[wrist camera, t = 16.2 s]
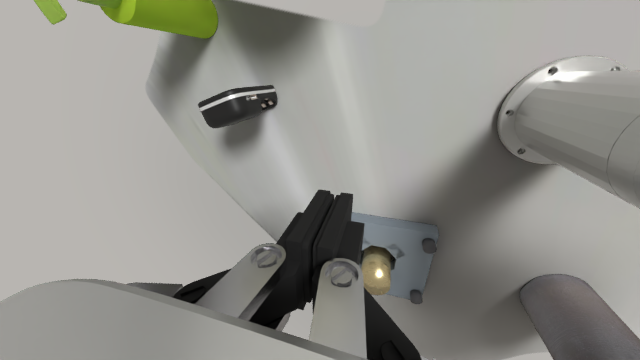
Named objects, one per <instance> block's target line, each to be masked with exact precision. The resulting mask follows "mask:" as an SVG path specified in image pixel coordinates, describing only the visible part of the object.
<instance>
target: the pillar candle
mask: <svg viewBox="0 0 640 360" xmlns="http://www.w3.org/2000/svg"><path fill="white" fill-rule="evenodd" d="M520 300H521V303H522V305H523V307H524V308H525V310H526V312H527V314H528V316H529V317H530V319H531V321H532V323H533V324H534V326H535V328H536V330H537V332H538V333H539V335H540V337H541V338H542V340H543V342H544V344H545V345H546V347H547V349H548V351H549V353H550V354H551V356H552V357H553V359H554V360H640V339H639V338H638V337H637V336H636V335H635V334H634V333H633V332H632V331H631V330H630V328H629V327H628V326H627V325H626V324H625V323H624V322H623V321H622V320H621V319H620V318H619V317H618V316H617V314H616V313H615V312H614V311H613V310H612V309H611V308H610V307H609V306H608V305H607V304H606V303H605V301H604V300H603V299H602V298H601V297H600V296H599V295H598V294H597V293H596V292H595V291H594V290H593V289H592V288H591V287H590V286H589V285H588V284H587V283H586V282H585V281H583V280H581V279H579V278H576V277H573V276H569V275H562V274H552V275H544V276H539V277H536V278H534V279H533V280H531V281H530V282H529V283H528V284H526V285H525V286H524V287H523V288H522V289H521V291H520Z"/></svg>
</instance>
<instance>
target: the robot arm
mask: <svg viewBox="0 0 640 360" xmlns="http://www.w3.org/2000/svg"><path fill="white" fill-rule="evenodd" d="M549 69H550V72H549V73H548V70H549ZM508 110H509V112H508V113H507V114H506V111H508ZM497 126H498V134H499V137H500V140H501V142H502V143H503V145H504V146H505V147H506V148H507V149H508V150H509V151H510V152H511V153H512V154H514V155H515V156H517V157H519V158H521V159H523V160H525V161H528V162H532V163H537V164H559V165H561V166H562V167H564V168H566V169H568V170H570V171H571V172H573V173H575V174H577V175H579V176H581V177H582V178H584V179H586V180H588V181H590V182H591V183H593V184H595V185H597V186H599V187H600V188H602V189H604V190H606V191H608V192H610V193H611V194H613V195H615V196H617V197H619V198H620V199H622V200H624V201H626V202H628V203H630V204H632V205H634V206H636V207H638V208H639V209H640V70H636V71H630V70H629V69H628V68H627V67H626V66H625V65H623V64H621V63H619V62H618V61H616V60H613V59H610V58H606V57H603V56H590V55H588V56H576V57H570V58H564V59H561V60H558V61H555V62H552V63H549V64H547V65H545V66H543V67H541V68H539V69H537V70H535V71H534V72H532V73H531V74H529V75H528V76H526V77H525V78H524V79H523V80H522V81H521V82H519V83H518V84H517V85H516V86H515V87H514V88H513V90H512V91H511V92H510V93H509V94H508V96H507V98H506V99H505V101H504V103H503V104H502V107H501V109H500V112H499V116H498V122H497ZM518 149H520V150H519V151H518ZM352 203H353V194H348V193H341V194H340V195H336V197H335V199H334V194H331V193H330V191H326V190H318V191H317V193H316V194H315V196H314V197H313V199H312V201H311V202H310V204H309V205H308V207H307V208H306V210H305V211H304V213H301V212H299V213H297V214H296V216H295V217H294V219H293V220H292V222H291V223H290V224H289V226H288V227H287V229H286V230H285V232H284V233H283V235H282V236H281V237H280V239H279V240H278V242H277V243H276V244H273V243H266V244H262V245H259V246H257V247H255V248H254V249H252V250H251V251H250V252H249V253H248V254H247V255H246V256H245V257H244V258H243V259H242V260H241V261H240V262H238V263H237V264H236V265H235V266H234V267H233V268H232V269H229V270H226V271H223V272H220V273H217V274H215V275H212V276H209V277H206V278H203V279H200V280H198V281H195V282H192V283H190V284H188V285H186V286H184V287H183V286H182V284H163V283H129V284H122V283H117V282H112V281H105V280H97V279H71V280H61V281H54V282H49V283H44V284H40V285H36V286H33V287H30V288H27V289H25V290H23V291H20V292H18V293H16V294H14V295H12V296H10V297H8V298H7V299H5V300H3V301H1V302H0V360H429V359H427V358H425V357H423V356H421V355H420V354H419V352H418V351H417V349H416V348H415V346H414V345H413V344H412V343H411V341H410V340H409V339H408V338H407V337H406V336H405V334H404V333H403V332H402V331H401V330H400V329H399V327H398V326H397V325H396V324H395V323H394V321H393V320H392V319H391V318H390V317H389V316H388V314H387V313H386V312H385V311H384V310H383V309H382V307H381V306H380V305H379V304H378V303H377V302H376V300H375V299H374V298H373V297H372V296H371V294H370V293H369V292H368V291H367V290H366V289H365V287H364V281H363V273H362V270H361V268H360V267H359V263H360V257H361V251H362V245H363V236H364V226H365V223H361V222H355V221H351V217H352ZM312 298H313V320H312V325H311V331H310V337H309V340H306V339H302V338H299V337H296V336H293V335H290V334H287V333H283V332H282V330H283V328H284V327H285V325H286V323H287V322H288V320H289V317H290V312H292V311H294V310H296V309H297V308H298V309H301V310H304V307H305V304H306V302H309V303H310V302H311V300H312ZM432 360H437V359H435V358H433V359H432Z"/></svg>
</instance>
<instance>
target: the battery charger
mask: <svg viewBox="0 0 640 360" xmlns="http://www.w3.org/2000/svg"><path fill="white" fill-rule="evenodd" d="M275 91H276V90H275V89H274V87H273V86H272V85H268V86H255V87H244V88H235V89H231V90H228V91H225V92H222V93H220V94H218V95H215V96H213V97H211V98H208V99H206V100H204V101H202V102H200V103H199V104H198V106H199V110H200V112H202V115H203V117H204V119H205V121H206V123H207V124H208V125H209V126H210V127H212V128H220V127H224V126H229V125H232V124H235V123H238V122H241V121H244V120H247V119H250V118H252V117H255V116H257V115H259V113H261V111H262V110H265V109H268V108H270V107H273V106H275V105H276V104H277V95H276V92H275Z"/></svg>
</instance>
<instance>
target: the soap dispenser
mask: <svg viewBox="0 0 640 360" xmlns="http://www.w3.org/2000/svg"><path fill="white" fill-rule="evenodd" d="M34 1H35V3H36V4H37V6H38V7H39V8H40V10H41V11H42V12H43V14H44V15H45V16H46V17H47V19H48V20H49V21H50V22H51V23H52V24H56V23H58V22H60V21H62V20H64V19H65V18H66V16H67V14H66V13H65V11H64V10H63V9H62V7H61V5H60V4H59V2H58V1H57V0H34ZM78 1H82V2H86V3H90V4H95V5H99V6H100V7H101V9H102V10H103V11H104V13H105V14H106V15H107V16H108V17H109V18H111V19H112V20H114V21H115V22H118V23H122V24H127V25H133V26H139V27H144V28H149V29H155V30H160V31H165V32H171V33H176V34H182V35H187V36H192V37H198V38H203V39H207V38H210V37H211V36H213V35H214V33H215V31H216V29H217V25H218V16H217V11H216V8H215V6H214V4H213V3H212V1H211V0H78Z"/></svg>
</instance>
